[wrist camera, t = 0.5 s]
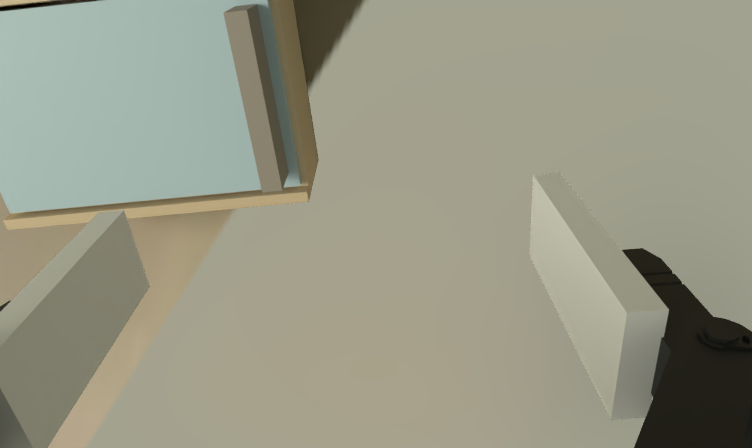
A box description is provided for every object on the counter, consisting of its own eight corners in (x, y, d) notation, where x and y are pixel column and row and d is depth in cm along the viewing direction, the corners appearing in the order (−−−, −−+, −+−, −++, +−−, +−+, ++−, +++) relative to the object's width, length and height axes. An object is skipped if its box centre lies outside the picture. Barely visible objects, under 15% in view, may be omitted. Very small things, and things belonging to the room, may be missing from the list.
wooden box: (-15, -11, 36) (-101, 2, 29) (286, -44, 35) (266, -39, 29) (63, 184, 43) (7, 229, 36) (318, 159, 42) (308, 201, 35)
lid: (-72, 18, 31) (-120, 28, 28) (266, -19, 30) (254, -13, 27) (15, 209, 36) (-17, 234, 33) (301, 182, 36) (295, 205, 33)
